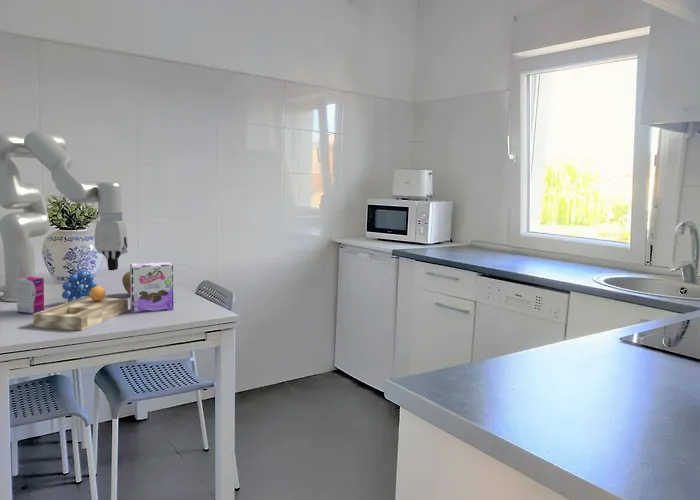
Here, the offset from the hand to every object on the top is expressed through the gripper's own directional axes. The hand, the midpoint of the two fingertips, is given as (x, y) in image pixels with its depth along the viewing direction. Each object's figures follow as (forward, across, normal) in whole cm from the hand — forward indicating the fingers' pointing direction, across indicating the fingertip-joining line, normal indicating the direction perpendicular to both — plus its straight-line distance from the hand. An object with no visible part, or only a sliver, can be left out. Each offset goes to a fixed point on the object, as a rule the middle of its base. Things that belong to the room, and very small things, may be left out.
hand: (113, 269), depth 186 cm
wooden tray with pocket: (+13, -1, -16) cm, 21 cm away
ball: (+7, -1, -8) cm, 11 cm away
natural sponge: (+14, -3, +19) cm, 23 cm away
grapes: (+13, -15, +2) cm, 20 cm away
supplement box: (+13, -22, -13) cm, 29 cm away
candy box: (+14, +14, 0) cm, 20 cm away
